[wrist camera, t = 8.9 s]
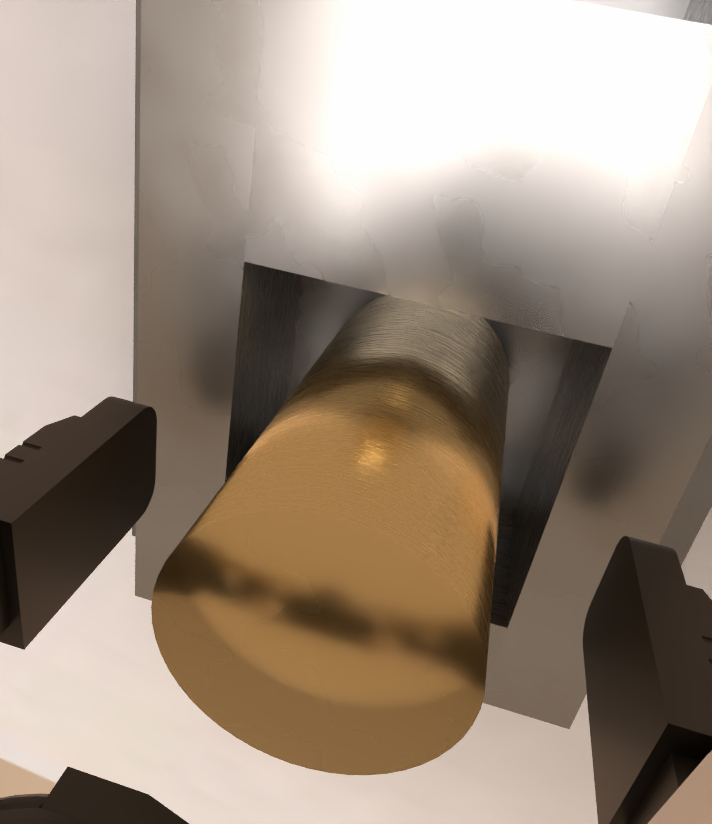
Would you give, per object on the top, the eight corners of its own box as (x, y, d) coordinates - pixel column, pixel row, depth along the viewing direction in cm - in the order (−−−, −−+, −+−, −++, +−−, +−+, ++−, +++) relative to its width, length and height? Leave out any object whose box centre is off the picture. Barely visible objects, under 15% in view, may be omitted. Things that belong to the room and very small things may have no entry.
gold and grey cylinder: (532, 315, 15) (531, 576, 7) (483, 476, 17) (440, 813, 9) (344, 270, 16) (155, 469, 8) (318, 432, 18) (148, 715, 10)
